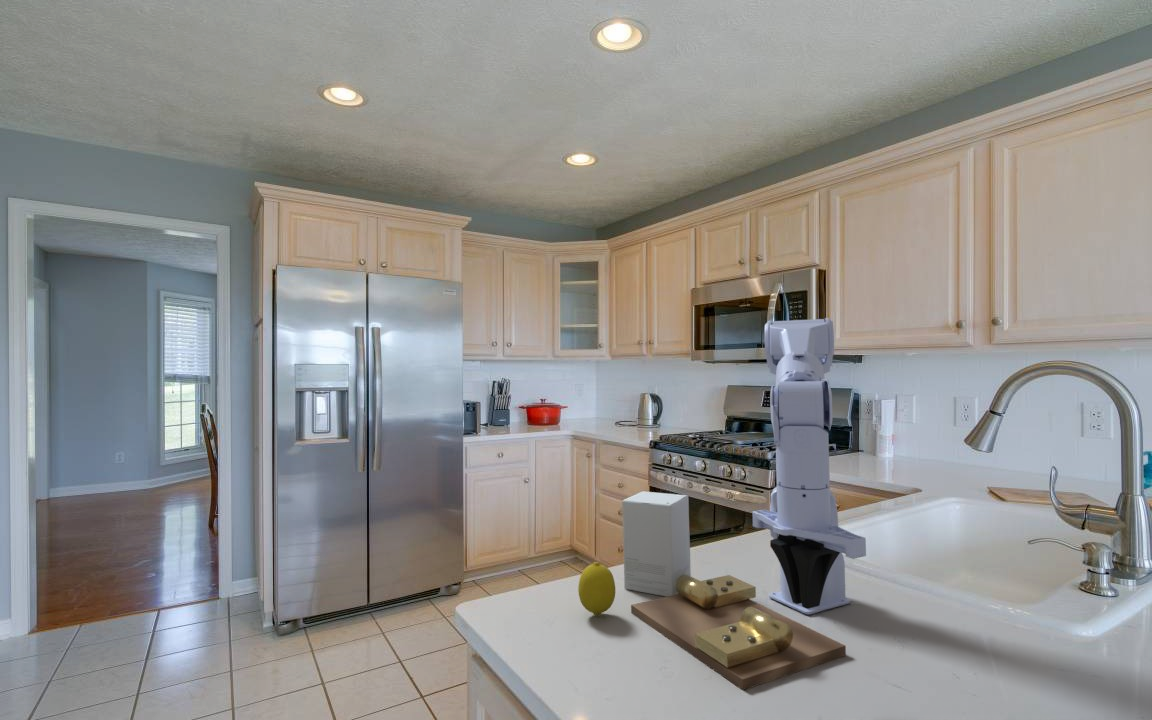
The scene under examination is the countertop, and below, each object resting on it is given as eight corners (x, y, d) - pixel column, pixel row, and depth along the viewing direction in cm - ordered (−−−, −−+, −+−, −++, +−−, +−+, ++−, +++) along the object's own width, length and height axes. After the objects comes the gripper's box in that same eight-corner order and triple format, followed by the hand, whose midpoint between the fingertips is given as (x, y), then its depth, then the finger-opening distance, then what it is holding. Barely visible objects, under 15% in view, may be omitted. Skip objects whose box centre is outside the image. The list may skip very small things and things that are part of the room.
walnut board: (719, 592, 94) (719, 584, 94) (845, 655, 73) (845, 645, 73) (631, 612, 87) (631, 604, 87) (742, 690, 65) (742, 679, 65)
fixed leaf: (723, 582, 95) (723, 562, 95) (755, 597, 88) (755, 576, 88) (670, 593, 90) (670, 573, 90) (700, 611, 84) (700, 588, 84)
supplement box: (692, 581, 100) (690, 494, 100) (673, 599, 92) (671, 505, 92) (644, 572, 104) (642, 489, 105) (622, 589, 96) (620, 499, 97)
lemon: (613, 625, 83) (612, 569, 83) (575, 622, 84) (574, 567, 84) (618, 609, 88) (617, 557, 88) (582, 607, 89) (581, 555, 89)
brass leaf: (758, 628, 78) (758, 604, 78) (793, 647, 72) (792, 621, 72) (695, 646, 73) (694, 620, 73) (727, 667, 68) (726, 640, 68)
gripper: (732, 478, 71) (735, 589, 71) (831, 500, 58) (835, 637, 58) (775, 473, 74) (777, 579, 74) (877, 493, 61) (881, 622, 61)
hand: (805, 604), depth 66 cm, fingers closed
